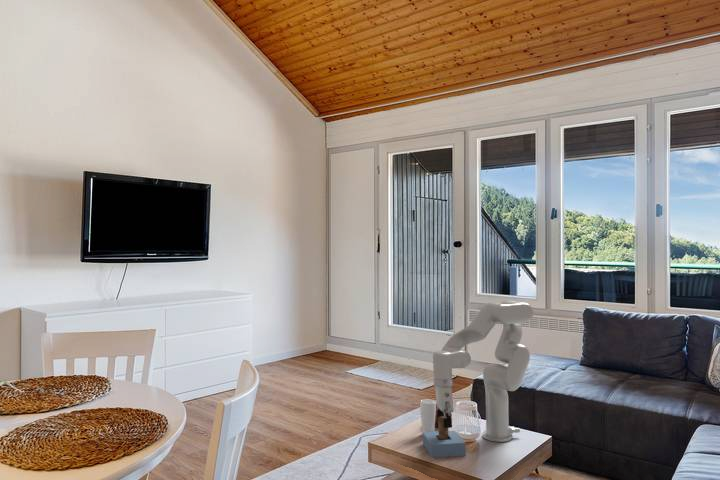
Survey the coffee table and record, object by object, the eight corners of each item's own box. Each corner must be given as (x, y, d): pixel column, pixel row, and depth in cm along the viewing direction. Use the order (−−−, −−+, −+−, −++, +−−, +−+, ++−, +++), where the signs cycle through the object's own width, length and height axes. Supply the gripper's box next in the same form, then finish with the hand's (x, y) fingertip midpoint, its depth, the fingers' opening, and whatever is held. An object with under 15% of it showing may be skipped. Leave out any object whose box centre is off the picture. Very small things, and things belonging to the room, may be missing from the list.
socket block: (455, 442, 223) (454, 430, 223) (465, 455, 209) (465, 442, 209) (422, 444, 221) (422, 432, 221) (431, 457, 207) (431, 444, 207)
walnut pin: (446, 445, 217) (446, 416, 217) (449, 448, 213) (449, 419, 213) (437, 445, 217) (437, 416, 217) (440, 449, 213) (439, 419, 213)
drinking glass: (432, 431, 236) (431, 398, 236) (438, 436, 229) (438, 402, 229) (418, 433, 234) (417, 399, 234) (424, 438, 227) (424, 404, 227)
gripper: (458, 386, 207) (460, 430, 207) (445, 375, 224) (447, 415, 224) (440, 388, 206) (441, 431, 206) (428, 377, 223) (430, 417, 223)
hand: (444, 423), depth 215 cm, fingers open, 9 cm apart
